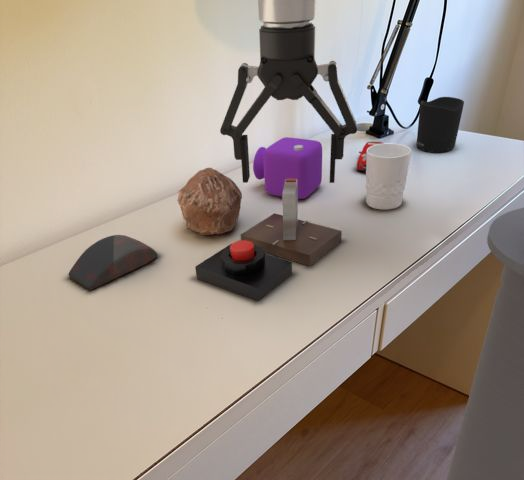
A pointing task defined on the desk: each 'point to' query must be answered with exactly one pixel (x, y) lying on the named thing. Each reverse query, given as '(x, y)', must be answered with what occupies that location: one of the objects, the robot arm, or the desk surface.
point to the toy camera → (290, 165)
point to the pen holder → (439, 124)
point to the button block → (245, 272)
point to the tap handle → (290, 209)
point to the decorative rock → (210, 202)
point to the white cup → (386, 175)
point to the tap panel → (300, 250)
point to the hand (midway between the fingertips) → (288, 179)
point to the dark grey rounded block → (110, 260)
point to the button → (242, 250)
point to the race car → (364, 156)
